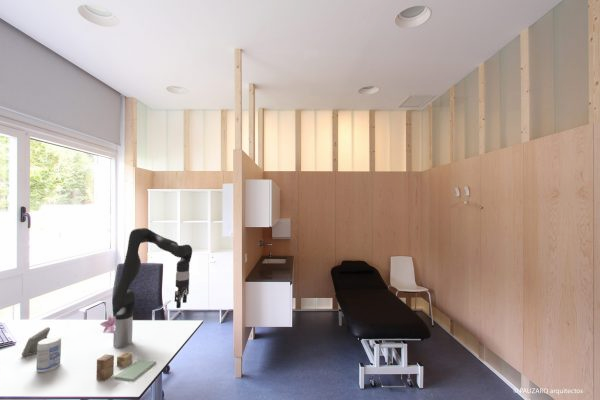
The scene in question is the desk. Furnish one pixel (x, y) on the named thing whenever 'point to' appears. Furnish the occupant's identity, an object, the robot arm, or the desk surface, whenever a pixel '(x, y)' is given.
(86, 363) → the desk surface
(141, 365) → the pad
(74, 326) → the desk surface
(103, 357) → the tall walnut block
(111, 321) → the lily
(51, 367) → the supplement tub
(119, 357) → the short oak block
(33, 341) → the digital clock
